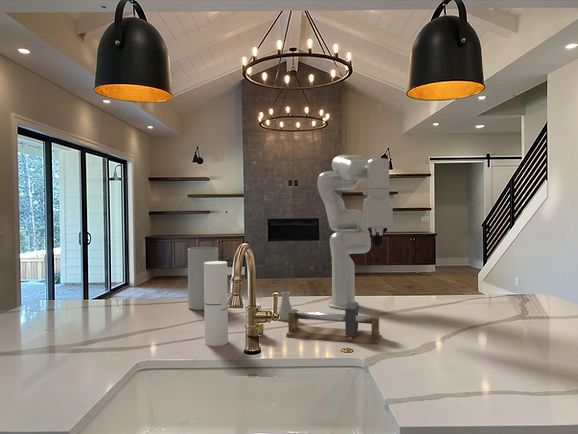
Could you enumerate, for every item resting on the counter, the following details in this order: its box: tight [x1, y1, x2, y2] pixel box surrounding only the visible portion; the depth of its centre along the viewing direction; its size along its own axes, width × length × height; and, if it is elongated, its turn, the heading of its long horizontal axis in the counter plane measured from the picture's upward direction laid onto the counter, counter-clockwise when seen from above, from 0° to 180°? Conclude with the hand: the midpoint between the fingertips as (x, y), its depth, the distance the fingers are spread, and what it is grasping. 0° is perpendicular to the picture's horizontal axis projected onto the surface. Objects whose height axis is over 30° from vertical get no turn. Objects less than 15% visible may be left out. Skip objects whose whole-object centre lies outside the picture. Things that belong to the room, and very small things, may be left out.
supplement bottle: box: [255, 302, 264, 337], centre depth 137 cm, size 6×6×10 cm
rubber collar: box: [344, 302, 359, 336], centre depth 134 cm, size 3×8×8 cm, turn 164°
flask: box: [277, 291, 293, 322], centre depth 157 cm, size 7×7×10 cm
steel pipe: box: [295, 310, 372, 325], centre depth 135 cm, size 27×3×3 cm, turn 74°
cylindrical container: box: [204, 260, 229, 347], centre depth 129 cm, size 7×7×25 cm
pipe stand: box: [285, 308, 381, 345], centre depth 135 cm, size 29×10×7 cm, turn 74°
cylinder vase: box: [187, 246, 219, 311], centre depth 176 cm, size 12×12×25 cm
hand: (377, 246), depth 145 cm, fingers closed
